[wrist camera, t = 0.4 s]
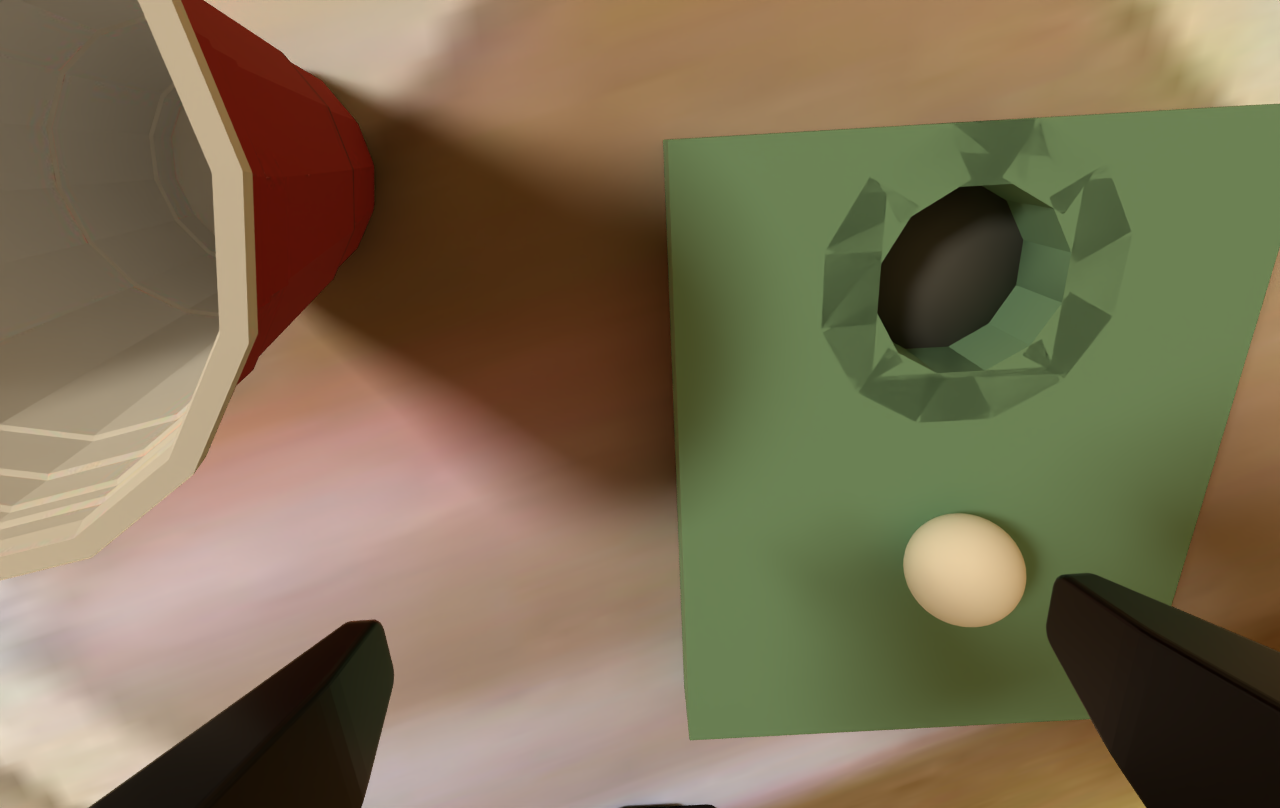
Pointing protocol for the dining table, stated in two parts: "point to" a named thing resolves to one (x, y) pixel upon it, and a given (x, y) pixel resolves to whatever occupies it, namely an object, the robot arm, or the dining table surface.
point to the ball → (964, 570)
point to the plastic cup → (148, 249)
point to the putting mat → (945, 392)
